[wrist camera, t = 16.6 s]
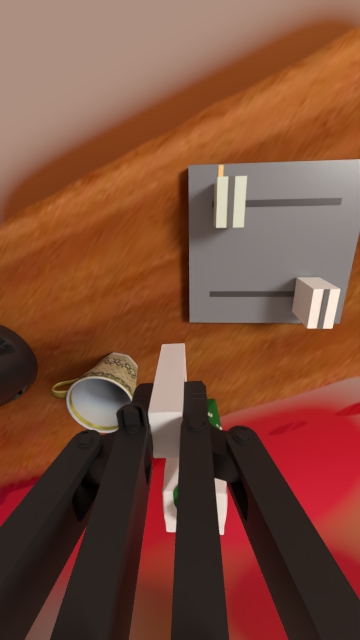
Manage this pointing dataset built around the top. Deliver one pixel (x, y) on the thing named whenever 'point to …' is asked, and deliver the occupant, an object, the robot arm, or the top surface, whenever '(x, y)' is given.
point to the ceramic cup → (101, 392)
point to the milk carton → (172, 483)
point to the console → (271, 238)
